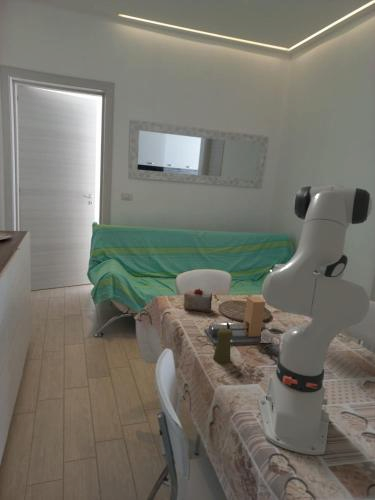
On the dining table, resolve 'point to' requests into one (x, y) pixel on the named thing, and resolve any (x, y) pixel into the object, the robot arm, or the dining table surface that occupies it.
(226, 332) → the cork
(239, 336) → the base board
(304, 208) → the robot arm
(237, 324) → the grey banded bar
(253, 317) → the orange brown tall block
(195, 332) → the dining table surface
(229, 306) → the trivet
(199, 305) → the food item
